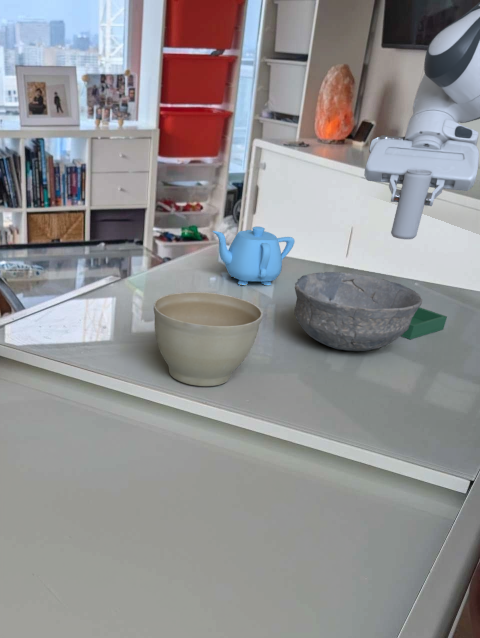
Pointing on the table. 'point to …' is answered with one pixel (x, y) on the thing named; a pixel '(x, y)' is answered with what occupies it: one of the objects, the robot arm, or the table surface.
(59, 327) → the table surface
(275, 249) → the teapot
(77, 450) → the table surface
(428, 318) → the green tray
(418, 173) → the beverage can
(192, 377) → the planter bowl
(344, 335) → the bowl
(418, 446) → the table surface
